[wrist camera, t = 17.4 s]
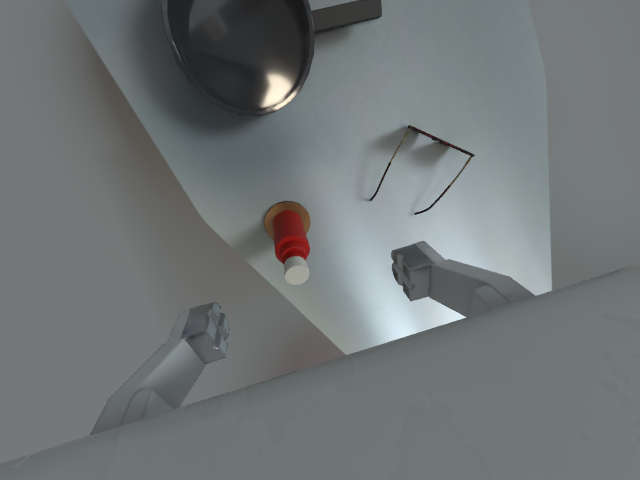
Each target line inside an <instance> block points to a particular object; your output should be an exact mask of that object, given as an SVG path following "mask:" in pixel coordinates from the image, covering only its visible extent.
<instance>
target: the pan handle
mask: <svg viewBox="0 0 640 480" xmlns="http://www.w3.org/2000/svg"><path fill="white" fill-rule="evenodd" d="M311 13H312V19H313V25H314V33H318V32H322V31H326V30H331V29H335V28H339V27H344V26H348V25H352V24H357V23H361V22H365V21H369V20H374V19H378V18H380V17H381V16H382V9H381V0H358V1H354V2H349V3H345V4H340V5H336V6H332V7H327V8H323V9H318V10H314V11H311Z"/></svg>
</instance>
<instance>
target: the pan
mask: <svg viewBox="0 0 640 480" xmlns="http://www.w3.org/2000/svg"><path fill="white" fill-rule="evenodd" d="M162 18H163V23H164V27H165V32H166V37H167V41H168V43H169V45H170V48H171V50H172V52H173V55H174V57H175V59H176V62H177V64H178V65H179V67H180V68H181V70H182V71H183V73H184V74H185V76H186V77H187V79H188V80H189V81H190V83H191V84H192V85H193V86H194V87H195V88H196V89H197V90H198V91H199V92H200V93H201V94H202V95H203V96H204V97H205V98H206V99H208V100H209V101H211V102H213V103H214V104H216V105H218V106H219V107H221V108H222V109H224V110H227V111H230V112H233V113H236V114H239V115H248V116H261V115H265V114H269V113H273V112H275V111H277V110H279V109H280V108H282V107H284V106H285V105H287V104H288V103H289V102H290V101H291V100H292V99H293V98H294V97H295V96H296V95H297V94H298V93H299V91H300V90H301V88H302V86H303V84H304V82H305V80H306V78H307V76H308V74H309V71H310V67H311V63H312V59H313V55H314V25H313V19H312V13H311V8H310V5H309V2H308V0H162Z"/></svg>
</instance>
